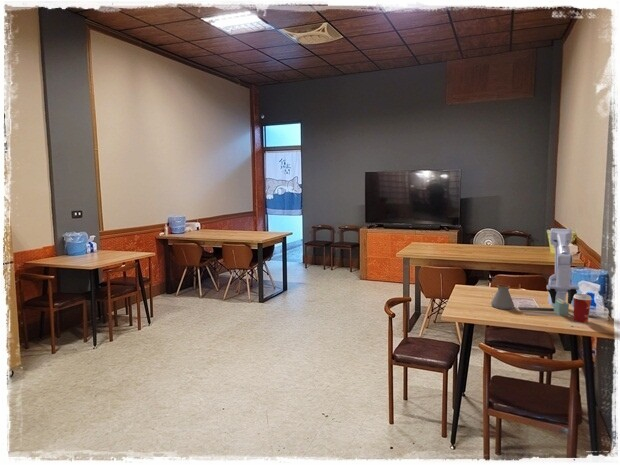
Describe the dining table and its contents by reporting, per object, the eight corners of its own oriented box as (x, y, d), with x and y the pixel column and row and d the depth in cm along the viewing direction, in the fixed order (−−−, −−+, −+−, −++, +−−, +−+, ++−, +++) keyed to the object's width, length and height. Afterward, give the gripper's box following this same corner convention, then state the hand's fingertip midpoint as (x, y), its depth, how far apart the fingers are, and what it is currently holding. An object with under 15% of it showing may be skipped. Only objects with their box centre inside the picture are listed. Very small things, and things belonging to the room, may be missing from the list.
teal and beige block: (553, 311, 224) (554, 298, 223) (561, 311, 223) (562, 298, 222) (559, 315, 217) (560, 302, 216) (568, 315, 216) (568, 302, 215)
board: (518, 311, 228) (518, 306, 227) (564, 313, 225) (564, 308, 224) (525, 318, 217) (526, 312, 216) (574, 320, 214) (574, 314, 213)
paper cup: (591, 326, 204) (593, 298, 202) (573, 324, 206) (575, 296, 205) (587, 321, 211) (589, 294, 209) (569, 320, 214) (571, 292, 212)
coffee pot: (517, 312, 226) (519, 284, 224) (495, 312, 227) (497, 284, 225) (501, 301, 247) (502, 276, 246) (481, 301, 248) (482, 276, 246)
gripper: (551, 278, 215) (549, 305, 216) (582, 279, 213) (580, 306, 214) (545, 275, 222) (543, 301, 223) (575, 276, 220) (573, 302, 221)
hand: (561, 303), depth 219 cm, fingers open, 7 cm apart
